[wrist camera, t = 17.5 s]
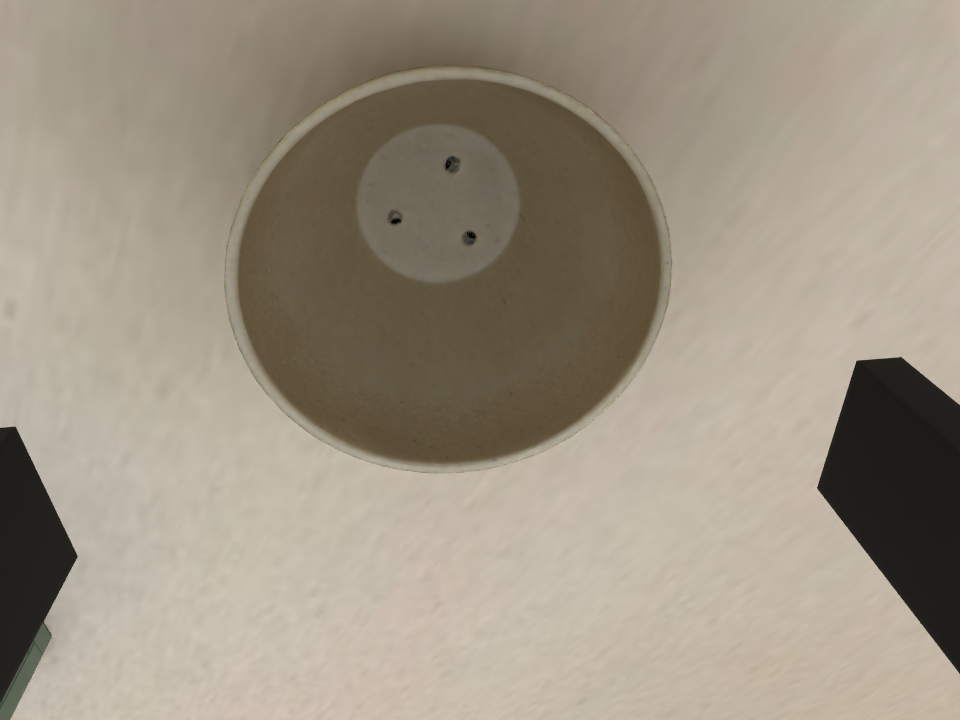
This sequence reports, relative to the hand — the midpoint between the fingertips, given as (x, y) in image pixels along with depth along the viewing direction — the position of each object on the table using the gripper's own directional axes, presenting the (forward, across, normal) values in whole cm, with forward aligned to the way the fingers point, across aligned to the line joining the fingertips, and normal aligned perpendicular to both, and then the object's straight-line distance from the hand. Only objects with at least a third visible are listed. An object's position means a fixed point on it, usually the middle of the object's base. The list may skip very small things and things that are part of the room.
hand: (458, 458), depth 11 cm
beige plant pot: (+12, 0, 0) cm, 12 cm away
